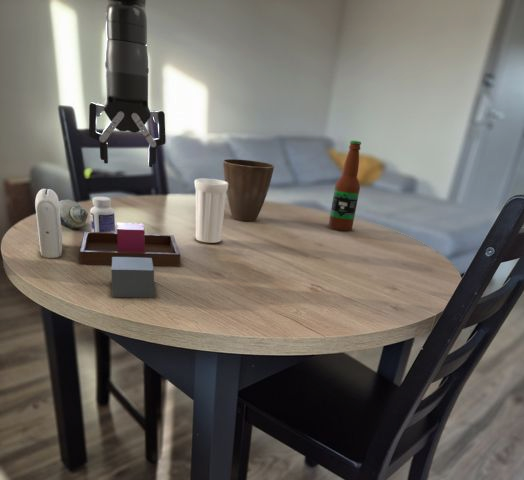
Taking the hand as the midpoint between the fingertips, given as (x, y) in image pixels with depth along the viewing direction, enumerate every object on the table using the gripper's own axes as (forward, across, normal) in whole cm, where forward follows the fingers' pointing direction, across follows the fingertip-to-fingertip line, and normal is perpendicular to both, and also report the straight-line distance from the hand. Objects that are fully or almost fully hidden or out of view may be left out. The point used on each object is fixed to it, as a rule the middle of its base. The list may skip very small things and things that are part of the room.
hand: (128, 164), depth 96 cm
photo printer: (+19, +16, -1) cm, 25 cm away
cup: (+18, -19, -13) cm, 30 cm away
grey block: (+18, 0, +21) cm, 28 cm away
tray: (+18, 0, 0) cm, 18 cm away
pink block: (+18, 0, 0) cm, 18 cm away
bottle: (+18, -63, -32) cm, 73 cm away
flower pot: (+18, -34, -39) cm, 55 cm away
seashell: (+19, +14, -21) cm, 31 cm away
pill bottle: (+19, +6, -13) cm, 24 cm away
